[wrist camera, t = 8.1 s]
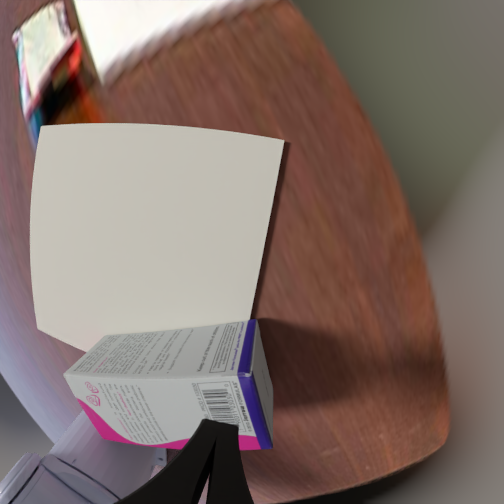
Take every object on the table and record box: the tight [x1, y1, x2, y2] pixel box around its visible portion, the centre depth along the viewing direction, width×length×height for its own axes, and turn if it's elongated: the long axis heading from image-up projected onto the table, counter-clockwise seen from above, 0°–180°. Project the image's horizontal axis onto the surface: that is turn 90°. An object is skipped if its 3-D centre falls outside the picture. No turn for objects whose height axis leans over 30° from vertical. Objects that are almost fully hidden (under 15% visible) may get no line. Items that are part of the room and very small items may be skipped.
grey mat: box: [30, 123, 284, 352], centre depth 17 cm, size 17×18×1 cm
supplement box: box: [63, 319, 273, 450], centre depth 15 cm, size 6×6×12 cm
